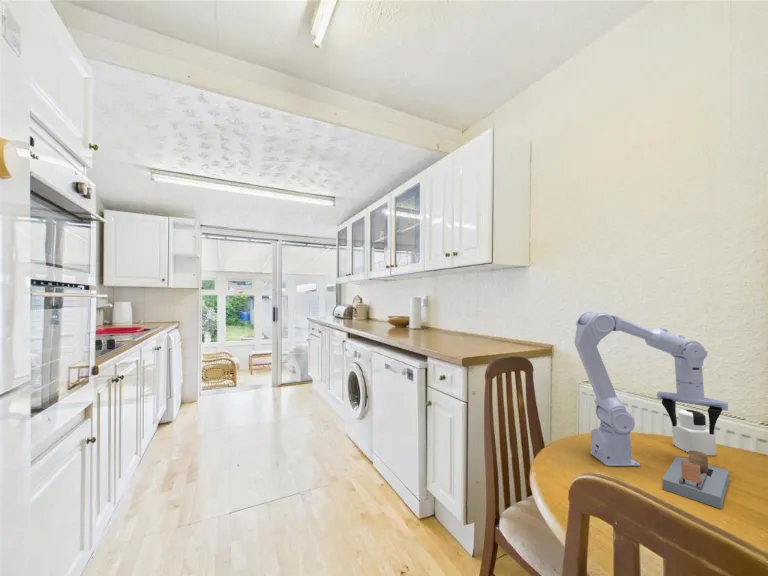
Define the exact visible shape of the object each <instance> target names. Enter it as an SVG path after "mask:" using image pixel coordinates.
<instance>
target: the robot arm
mask: <svg viewBox="0 0 768 576" xmlns="http://www.w3.org/2000/svg"><path fill="white" fill-rule="evenodd" d="M575 325H576V329H575V337H574V345H575V348H576V350H577V353H578V355H579V358H580V360H581V363H582V365H583V367H584V370H585V373H586V375H587V377H588V380H589V382H590V385H591V388H592V390H593V392H594V396H595V399H594V403H595V414H596V415H595V416H596V417H597V418H598V420H600V423H599V425H600V426H599V427H598V428H593V429H591V431H590V448H591V450H590V451H589V453H590V454H591V455H592V456H593V457H595V458H596V459H597V460H598V461H599V462H601V463H603V464H604V465H605V466H607V467H629V466H630V467H640V466H641V464H640V463H639V462H638V461H637V460H634V459H633V458H632V441H631V439H632V438H631V432H632V431H633V430H634V429H635V425H636V422H635V419H634V417H633V415H632V414H631V413H629V412H628V411H627V409H626V406H625V405H624V404H623V402H622V401H621V400H620V399H619V397H618V396H617V393H616V391H615V388H614V385H613V383H612V381H611V379H610V376H609V373H608V371H607V369H606V366H605V364H604V361H603V359H602V357H601V354H600V351H599V349H598V345H599V343H600V342H601V340H603V339H604V338H605V337H606V336H608V335H610V334H611V333H612V332H619V331H620V332H623V333H625V334H629V335H631V336H634V337H637V338H640V339H643V340H644V341H645V343H646V345H647V346H649V347H651V348H654V349H656V350H659V351H662V352H664V353H666V354H669V355H670V356H672V357H673V358H674V371H675V386H676V387H675V388H676V393H675V392H668V391H660V390H659V391H657V392H656V393H657V394H656V397H657V399H658V400H661V405H662V406H663V407H664V409H665V411H666V413H667V414H668V416H669V420H670V421H671V427H672V426H675V427H676V425H677V423H678V420H677V412H676V409H677V406H676V405H677V404H676V403H677V402H679V403H684V404H689V405H690V404H691V405H696V406H701V407H708V409H707V413H708V421H709V423H708V424H709V425H708V426H709V427H708V429H709V433H710V434H712V435H713V434H714V432H715V428H716V424H717V421H718V419H719V417H720V416H721V414H722V412H723V411H729V404H728V401H723V400H719V399H714V398H708V397H705V391H704V376H703V375H704V373H703V366H704V361H705V360H706V358H707V357H708V351H707V350H706V349H705V347H704V346H703V345H702V344H701V343H700V342H698V341H694V340H687V339H686V337H685V335H684V336H683V335H676V334H674V333H671V332H668V331H669V330H668V329H667V328H664V327H659V328H653V329H649V328H646V327H644V326H642V325H639V324H637V323H634V322H632V321H630V320H627V319H625V318H623V317H620V316H617V315H611V314H609V313H606V312H592V311H587V312H583V313H582V314H580V317H578V319H577V321H576V322H575Z"/></svg>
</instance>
